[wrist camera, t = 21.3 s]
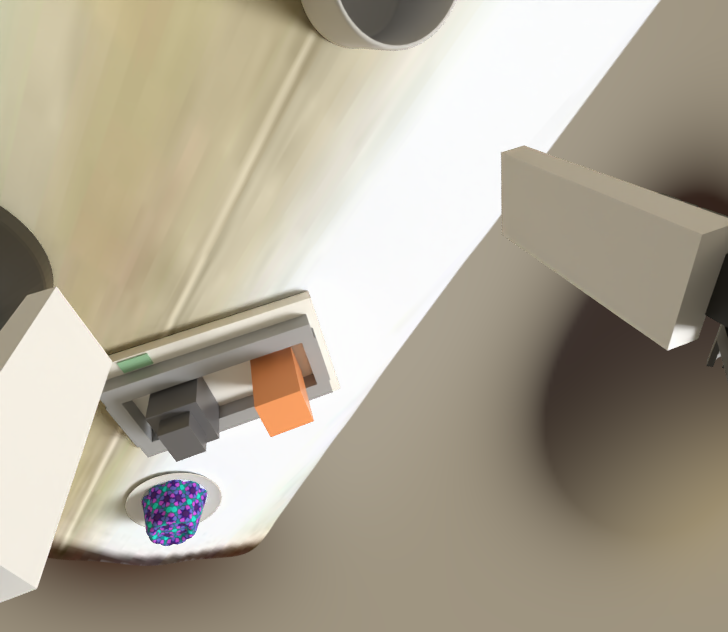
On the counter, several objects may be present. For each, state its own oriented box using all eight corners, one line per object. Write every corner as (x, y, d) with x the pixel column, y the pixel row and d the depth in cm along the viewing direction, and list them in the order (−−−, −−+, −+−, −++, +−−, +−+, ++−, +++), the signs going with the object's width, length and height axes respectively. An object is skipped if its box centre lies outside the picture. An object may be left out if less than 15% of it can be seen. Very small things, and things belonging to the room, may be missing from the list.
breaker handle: (176, 420, 49) (170, 470, 43) (151, 385, 45) (142, 434, 40) (219, 405, 49) (219, 452, 43) (198, 369, 46) (194, 416, 40)
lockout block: (264, 385, 50) (270, 437, 43) (249, 356, 47) (254, 407, 40) (301, 371, 50) (313, 421, 44) (289, 342, 47) (300, 390, 41)
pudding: (221, 463, 57) (221, 497, 53) (222, 517, 63) (222, 552, 59) (120, 474, 53) (112, 511, 49) (131, 531, 59) (124, 568, 55)
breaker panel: (151, 446, 52) (147, 469, 49) (84, 363, 44) (75, 385, 41) (337, 380, 54) (344, 399, 52) (308, 290, 46) (313, 307, 43)
